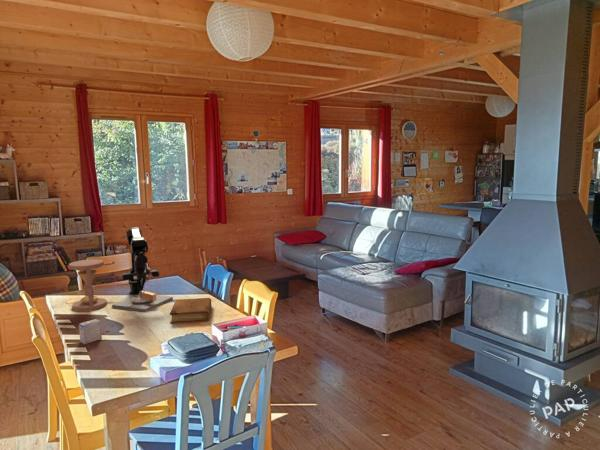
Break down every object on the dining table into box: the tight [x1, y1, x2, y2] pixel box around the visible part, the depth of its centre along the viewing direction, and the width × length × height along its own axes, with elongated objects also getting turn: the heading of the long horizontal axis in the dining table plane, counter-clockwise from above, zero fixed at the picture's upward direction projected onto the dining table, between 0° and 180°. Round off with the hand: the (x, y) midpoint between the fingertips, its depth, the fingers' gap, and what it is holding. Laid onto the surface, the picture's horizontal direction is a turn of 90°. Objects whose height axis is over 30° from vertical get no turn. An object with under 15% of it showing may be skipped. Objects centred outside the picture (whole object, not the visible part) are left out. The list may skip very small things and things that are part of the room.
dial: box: [131, 290, 157, 304], centre depth 247 cm, size 17×12×5 cm
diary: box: [169, 297, 212, 325], centre depth 228 cm, size 23×19×6 cm
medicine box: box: [78, 318, 103, 345], centre depth 196 cm, size 8×4×9 cm, turn 141°
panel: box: [111, 293, 174, 313], centre depth 249 cm, size 23×23×2 cm
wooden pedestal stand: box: [68, 258, 108, 312], centre depth 243 cm, size 18×18×25 cm
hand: (141, 290), depth 239 cm, fingers closed
